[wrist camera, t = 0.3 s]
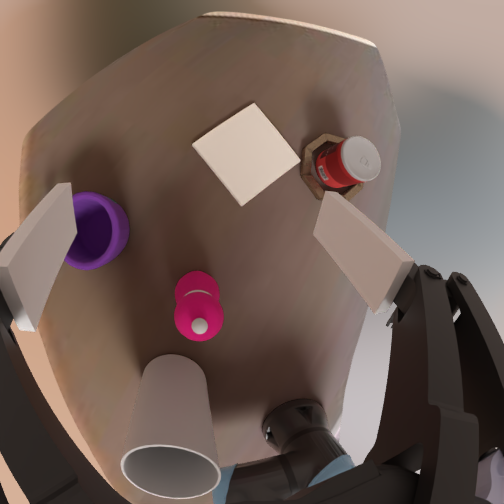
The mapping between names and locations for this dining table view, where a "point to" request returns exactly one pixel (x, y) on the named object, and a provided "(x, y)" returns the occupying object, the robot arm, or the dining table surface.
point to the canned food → (348, 162)
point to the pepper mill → (198, 306)
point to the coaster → (246, 153)
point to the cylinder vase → (172, 432)
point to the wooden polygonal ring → (306, 168)
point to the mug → (97, 231)
